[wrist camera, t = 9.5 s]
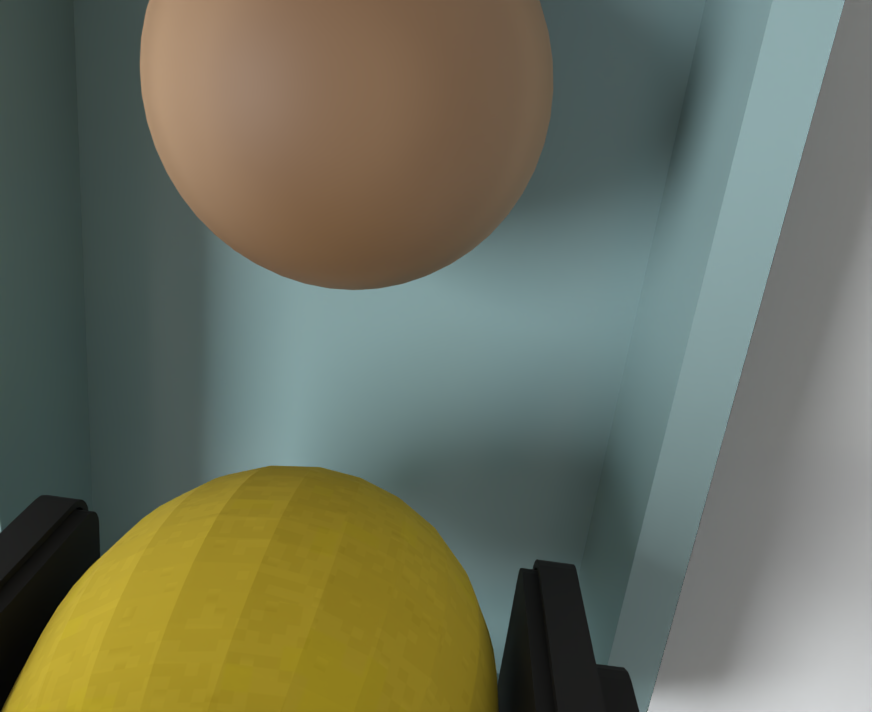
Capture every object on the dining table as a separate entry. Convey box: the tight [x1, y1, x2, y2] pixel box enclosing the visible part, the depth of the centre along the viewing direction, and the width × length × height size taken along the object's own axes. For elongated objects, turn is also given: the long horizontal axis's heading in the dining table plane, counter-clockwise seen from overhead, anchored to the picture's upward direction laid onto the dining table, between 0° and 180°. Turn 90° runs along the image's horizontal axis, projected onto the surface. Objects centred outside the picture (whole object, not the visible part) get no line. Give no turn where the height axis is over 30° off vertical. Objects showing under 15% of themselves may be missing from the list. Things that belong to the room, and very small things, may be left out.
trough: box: [0, 0, 845, 712], centre depth 12 cm, size 11×16×4 cm
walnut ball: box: [140, 0, 553, 290], centre depth 10 cm, size 5×5×5 cm
